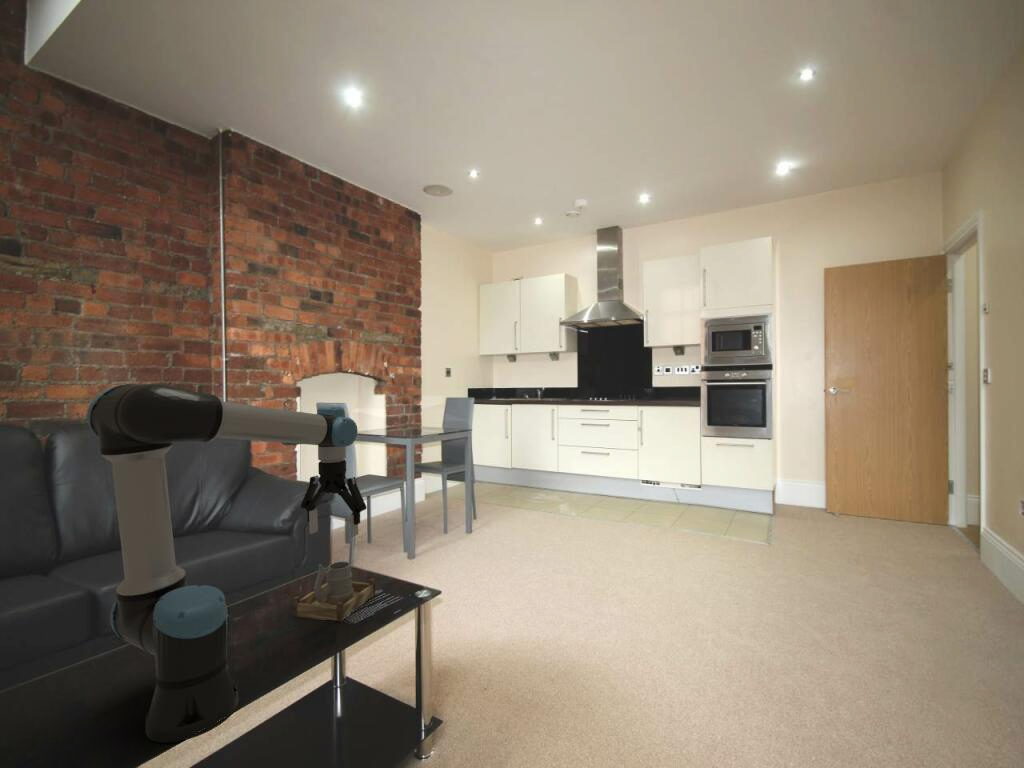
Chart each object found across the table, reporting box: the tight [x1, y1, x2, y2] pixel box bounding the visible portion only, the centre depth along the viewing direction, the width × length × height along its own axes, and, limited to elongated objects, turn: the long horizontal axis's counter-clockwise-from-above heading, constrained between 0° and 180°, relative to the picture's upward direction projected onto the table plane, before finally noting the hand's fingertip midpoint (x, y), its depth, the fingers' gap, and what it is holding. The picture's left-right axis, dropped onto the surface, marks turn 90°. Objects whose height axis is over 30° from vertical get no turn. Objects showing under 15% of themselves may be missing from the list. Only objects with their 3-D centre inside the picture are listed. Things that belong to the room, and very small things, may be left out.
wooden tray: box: [292, 578, 376, 621], centre depth 142 cm, size 17×15×5 cm
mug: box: [313, 560, 354, 604], centre depth 142 cm, size 8×12×12 cm, turn 143°
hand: (333, 534), depth 142 cm, fingers open, 13 cm apart
